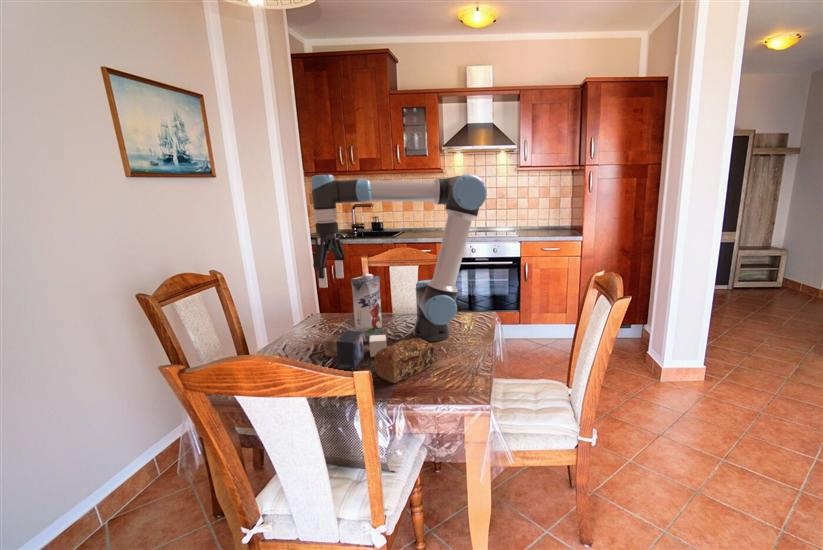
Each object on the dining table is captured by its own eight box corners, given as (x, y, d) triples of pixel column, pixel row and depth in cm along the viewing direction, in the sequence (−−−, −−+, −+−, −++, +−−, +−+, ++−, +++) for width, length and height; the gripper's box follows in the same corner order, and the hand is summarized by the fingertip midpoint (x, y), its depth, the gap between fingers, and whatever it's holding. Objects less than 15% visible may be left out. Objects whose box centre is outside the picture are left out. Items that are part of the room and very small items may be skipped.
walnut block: (347, 351, 149) (346, 336, 148) (338, 357, 144) (337, 342, 143) (333, 349, 151) (332, 334, 150) (325, 355, 146) (323, 340, 145)
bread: (394, 386, 122) (392, 356, 119) (373, 375, 129) (371, 346, 127) (435, 366, 134) (435, 338, 132) (414, 357, 142) (413, 331, 139)
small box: (355, 371, 132) (353, 341, 130) (337, 370, 134) (334, 341, 132) (365, 357, 143) (363, 330, 140) (348, 357, 144) (346, 330, 142)
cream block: (386, 349, 149) (385, 334, 148) (386, 356, 144) (385, 340, 142) (370, 350, 149) (369, 335, 148) (370, 357, 143) (369, 341, 142)
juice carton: (352, 340, 160) (347, 275, 154) (369, 332, 168) (365, 270, 162) (369, 344, 155) (364, 277, 149) (385, 335, 163) (382, 272, 157)
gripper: (331, 218, 146) (337, 274, 151) (297, 225, 122) (305, 291, 127) (350, 218, 144) (355, 274, 149) (319, 225, 121) (326, 291, 125)
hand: (332, 282), depth 138 cm, fingers open, 13 cm apart
